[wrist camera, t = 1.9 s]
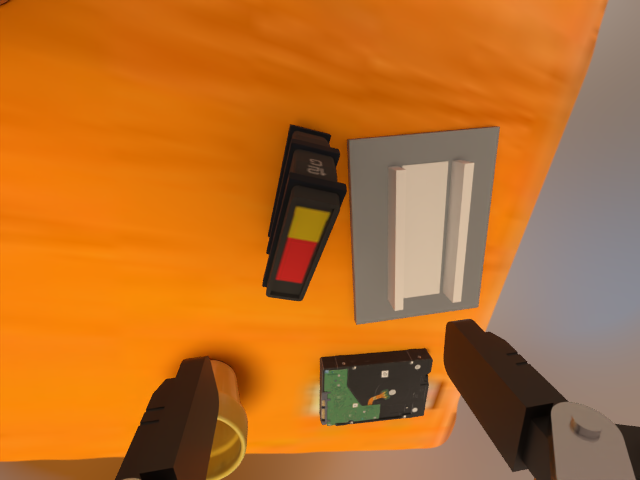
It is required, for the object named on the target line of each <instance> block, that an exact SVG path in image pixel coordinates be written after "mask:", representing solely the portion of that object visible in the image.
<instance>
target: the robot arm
mask: <svg viewBox="0 0 640 480" xmlns="http://www.w3.org/2000/svg"><path fill="white" fill-rule="evenodd" d="M7 1H8V0H0V5H1V4H3V3H5V2H7ZM444 365H445V369H446V372H447V374H448V376H449V378H450V379H451V381H452V382H453V384H454V385H455V387H456V388H457V390H458V391H459V393H460V394H461V396H462V397H463V398H464V400H465V401H466V403H467V404H468V406H469V407H470V409H471V410H472V412H473V413H474V414H475V416H476V418H477V419H478V421H479V422H480V424H481V425H482V427H483V428H484V430H485V431H486V433H487V434H488V436H489V437H490V439H491V440H492V442H493V443H494V445H495V446H496V448H497V449H498V451H499V452H500V453H501V455H502V457H503V458H504V460H505V461H506V463H507V464H508V466H509V467H510V468H511V470H512V472H515V471H520V470H525V469H529V471H530V472H531V473H532V475H533V476H534V480H640V427H636V426H627V425H619V424H614V423H613V422H612V421H611V420H610V419H609V418H607V417H606V416H605V415H603V414H602V413H600V412H598V411H597V410H595V409H593V408H590V407H588V406H585V405H582V404H579V403H573V402H568V401H567V400H566V399H565V398H564V397H563V396H562V395H561V394H560V393H559V392H558V391H557V390H556V389H555V388H554V387H553V386H552V385H551V384H550V383H549V382H548V381H547V380H546V379H545V378H544V377H543V376H542V375H541V374H539V373H538V372H537V371H536V370H535V369H534V368H533V367H532V366H531V365H530V364H528V363H527V361H526V360H525V359H524V358H523V357H522V356H521V355H518V354H517V351H516V350H515V349H514V348H513V347H512V346H511V345H510V344H509V343H507V342H506V341H505V340H504V339H502V338H500V337H498V336H496V335H495V334H493V333H491V332H484V331H483V330H482V329H481V328H480V327H479V326H478V325H477V324H476V323H475V322H474V321H473V320H472V319H465V320H458V321H451V322H448V323H447V325H446V333H445V345H444ZM218 413H219V394H218V389H217V385H216V381H215V377H214V373H213V369H212V365H211V361H210V358H209V357H208V356H204V357H197V358H191V359H184V360H183V361H182V363H181V365H180V368H179V370H178V373H177V376H176V378H171V379H166V380H165V381H164V382H163V383H162V384H161V385H160V386H159V388H158V389H157V390H156V391H155V392H154V393H153V395H152V397H151V399H150V402H149V404H148V406H147V408H146V412H145V413H144V415H143V417H142V420H141V422H140V426H139V427H138V429H137V431H136V433H135V436H134V438H133V440H132V442H131V445H130V447H129V449H128V451H127V454H126V456H125V458H124V461H123V463H122V465H121V467H120V469H119V472H118V474H117V476H116V478H115V480H206V475H207V470H208V465H209V460H210V455H211V449H212V444H213V439H214V434H215V429H216V423H217V418H218Z"/></svg>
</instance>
